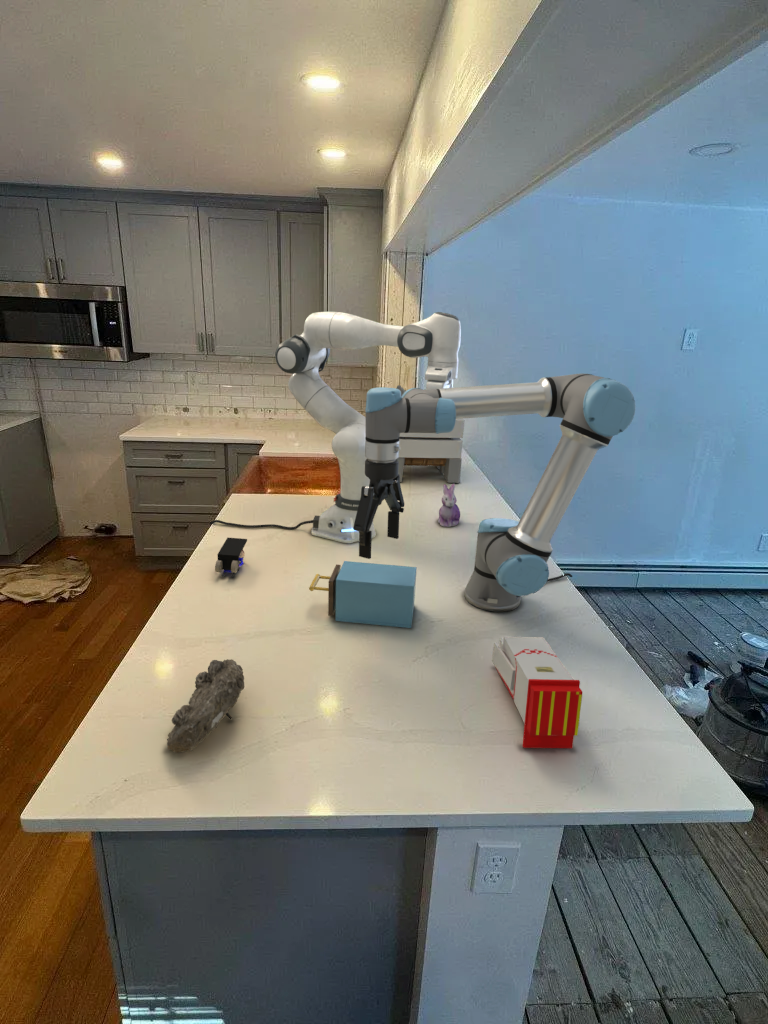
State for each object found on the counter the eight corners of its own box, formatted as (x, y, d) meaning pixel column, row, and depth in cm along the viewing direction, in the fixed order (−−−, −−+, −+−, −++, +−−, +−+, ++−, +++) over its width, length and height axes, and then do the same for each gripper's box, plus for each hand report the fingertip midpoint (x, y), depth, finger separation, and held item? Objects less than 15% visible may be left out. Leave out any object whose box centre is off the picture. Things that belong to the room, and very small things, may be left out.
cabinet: (335, 620, 143) (336, 579, 139) (343, 600, 153) (344, 560, 149) (411, 628, 141) (413, 586, 137) (414, 606, 152) (416, 567, 148)
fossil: (192, 660, 117) (244, 628, 112) (224, 691, 120) (276, 661, 115) (142, 746, 98) (202, 712, 93) (182, 779, 101) (242, 748, 96)
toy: (540, 620, 128) (592, 687, 99) (535, 674, 131) (584, 755, 102) (487, 619, 128) (523, 686, 99) (483, 673, 131) (517, 754, 101)
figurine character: (238, 584, 162) (249, 557, 175) (236, 562, 158) (247, 536, 172) (215, 584, 161) (227, 556, 175) (212, 561, 158) (225, 535, 171)
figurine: (445, 529, 206) (449, 489, 200) (430, 519, 214) (433, 481, 209) (467, 525, 210) (470, 487, 205) (451, 516, 218) (454, 479, 213)
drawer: (307, 613, 144) (307, 579, 141) (316, 595, 153) (316, 562, 150) (398, 622, 142) (400, 587, 138) (402, 603, 151) (404, 570, 148)
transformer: (382, 463, 289) (386, 382, 275) (445, 464, 293) (451, 384, 279) (390, 482, 257) (394, 392, 243) (460, 483, 261) (468, 394, 247)
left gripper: (439, 367, 175) (435, 412, 180) (423, 373, 157) (420, 423, 161) (459, 369, 174) (455, 414, 178) (446, 375, 155) (441, 425, 160)
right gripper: (368, 474, 114) (366, 570, 121) (420, 450, 135) (416, 533, 142) (337, 469, 117) (337, 562, 124) (392, 446, 138) (390, 527, 145)
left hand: (438, 418), depth 170 cm, fingers open, 8 cm apart
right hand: (379, 547), depth 133 cm, fingers open, 13 cm apart
